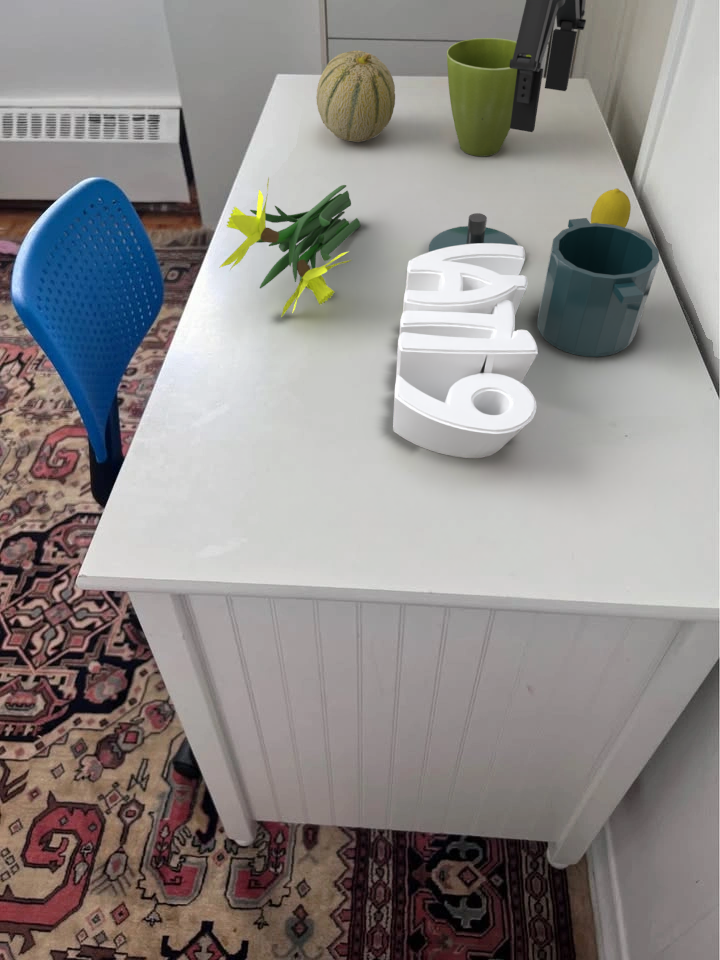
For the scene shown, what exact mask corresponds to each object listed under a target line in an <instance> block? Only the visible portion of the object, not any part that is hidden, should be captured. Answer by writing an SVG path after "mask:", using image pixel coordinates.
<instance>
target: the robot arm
mask: <svg viewBox="0 0 720 960" xmlns="http://www.w3.org/2000/svg"><path fill="white" fill-rule="evenodd" d="M585 10H586V0H525V4H524V9H523V12H522V17H521V22H520V26H519V30H518V34H517V40H516V42H517V43H516V47H515V51H514V55H513V59H511V60H510V68H513V69H517V76H516V84H515V92H514V100H513V108H512V116H511V124H510V130H517V131H522V132H528V133H533V132H534V131H535V129H536V128H535V127H536V121H537V114H538V113H537V112H538V109H539V108H538V107H539V99H540V93H541V87H542V81H543V74H544V68H542V64H543V61H544V57H545V53H546V51H547V47H548V43H549V41H550V37H551V34H552V38H551V43H550V50H549V57H548V64H547V69H546V70H547V71H546V78H545V82H544V89H547V90H554V91H560V92H566V91H567V90H568V85H569V79H570V74H571V69H572V62H573V59H574V58H573V57H574V51H575V47H576V39H577V34H578V31H579V30H580V31H585V27H586V23H587V19H585V18H584V16H585V13H586V11H585ZM555 20H556V27H557V28H554V30H553V27H554V25H555ZM552 30H553V31H552ZM576 30H578V31H576ZM526 55H531V57H526Z"/></svg>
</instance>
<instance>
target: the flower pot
mask: <svg viewBox="0 0 720 960" xmlns="http://www.w3.org/2000/svg"><path fill="white" fill-rule="evenodd" d="M516 43H517V40H511V39H507V38H498V37H480V38H470V39H466V40H465V39H464V40H461V41H457V42H456V43H453V44H452V45H450V46H449V47H447V50H446V64H447V82H448V83H447V84H448V92H449V101H450V109H451V114H452V119H453V124H454V129H455V132H456V137H457V140H458V144H459V148H460V150H461V151H462V152H463V153H464V154H467V155H470V156H474V157H489V156H493V155H496V154H497V153H499V152H500V151H501V149H502V147H503V144H504V143H505V141H506V139H507V137H508V135H509V132H510V130H511V129H510V124H511V116H512V108H513V100H514V92H515V84H516V76H517V69H513V68H510V60H511V59H513V55H514V51H515V47H516ZM526 57H531V55H526Z"/></svg>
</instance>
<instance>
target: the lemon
mask: <svg viewBox="0 0 720 960" xmlns="http://www.w3.org/2000/svg"><path fill="white" fill-rule="evenodd" d="M631 210H632V204H631V201H630V198H629V196H628V195H627V194H626V193H625V192H624V191H622V190H620V188H613V189H609V190H607V191H604V192H603V193H602V194H600V195H599V196H598V198H597V199H596V201H595V203H594V205H593V207H592V210H591V214H590V223H601V224H611V225H617V226H621V227H624V228H627V225H628V224H629V221H630V217H631Z"/></svg>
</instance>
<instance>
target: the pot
mask: <svg viewBox="0 0 720 960" xmlns="http://www.w3.org/2000/svg"><path fill="white" fill-rule="evenodd" d="M659 264H660V250H659V249H658V247H657V246H656V245H655V243H654V242H653V241H652V240H651V239H650V238H649V237H646V236H645V235H643V234H641V233H640V232H638V231H636V230H634V229H631V228H628V227H625V228H624V227H621V226H617V225H611V224H601V223H591V221H590V220H589V219H588V218H587V217H582V218H571V219H569V220H568V223H567V228H565V229H562V230H561V231H560V232H559V233H558V234H556V236H555V237H554V238H553V239H552V243H551V248H550V252H549V258H548V264H547V268H546V274H545V278H544V283H543V289H542V294H541V298H540V304H539V308H538V309H539V310H538V315H537V322H536V323H537V329H538V332H539V334H540V335H541V337H542V338H543V339H544V340H545V341H546V342H547V343H548V344H550V345H551V346H553V347H555V348H556V349H558V350H560V351H563V352H565V353H568V354H571V355H575V356H581V357H589V358H590V357H592V358H598V357H600V358H601V357H609V356H613V355H615V354H617V353H620V352H623V350H625V349H627V348H628V347H629V346H630V344H632V342H633V340H634V338H635V336H636V334H637V331H638V327H639V325H640V323H641V319H642V316H643V313H644V310H645V306H646V303H647V300H648V297H649V294H650V290H651V287H652V285H653V281H654V278H655V276H656V272H657V270H658V266H659Z"/></svg>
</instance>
